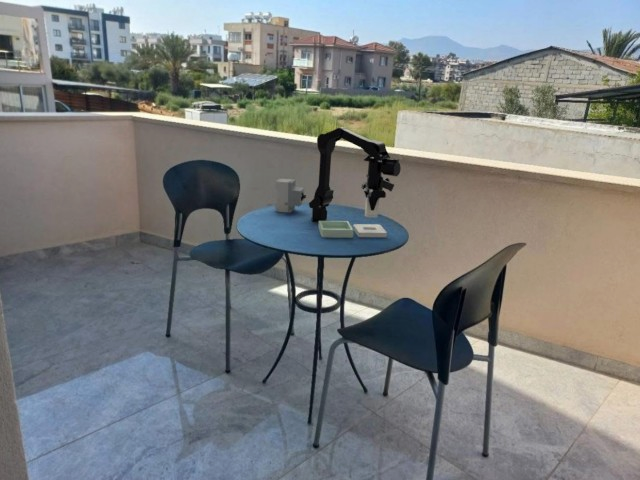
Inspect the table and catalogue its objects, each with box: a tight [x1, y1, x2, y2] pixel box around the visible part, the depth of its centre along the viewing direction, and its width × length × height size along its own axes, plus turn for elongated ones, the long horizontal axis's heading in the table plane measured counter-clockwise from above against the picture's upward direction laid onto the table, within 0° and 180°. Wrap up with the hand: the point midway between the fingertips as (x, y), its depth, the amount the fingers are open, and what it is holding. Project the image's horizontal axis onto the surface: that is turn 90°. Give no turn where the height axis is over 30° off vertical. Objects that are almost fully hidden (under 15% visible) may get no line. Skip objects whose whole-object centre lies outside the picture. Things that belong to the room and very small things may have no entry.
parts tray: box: [318, 220, 355, 239], centre depth 188 cm, size 13×13×3 cm
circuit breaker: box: [274, 178, 307, 214], centre depth 217 cm, size 8×14×15 cm, turn 78°
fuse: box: [364, 196, 380, 218], centre depth 187 cm, size 5×3×8 cm, turn 97°
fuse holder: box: [352, 223, 388, 238], centre depth 190 cm, size 12×12×2 cm
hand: (371, 209), depth 187 cm, fingers closed on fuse, 3 cm apart
